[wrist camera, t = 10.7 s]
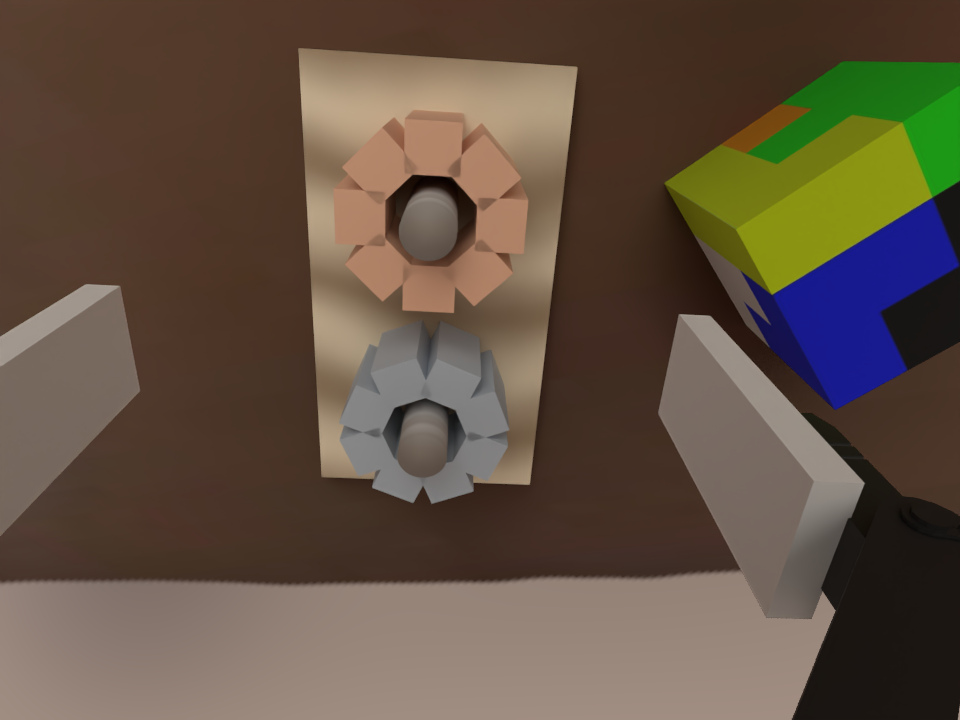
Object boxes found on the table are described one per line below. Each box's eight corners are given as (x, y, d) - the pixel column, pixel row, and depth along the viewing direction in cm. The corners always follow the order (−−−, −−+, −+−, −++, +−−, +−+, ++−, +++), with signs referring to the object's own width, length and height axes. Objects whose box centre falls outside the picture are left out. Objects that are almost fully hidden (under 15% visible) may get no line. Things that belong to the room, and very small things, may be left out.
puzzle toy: (745, 324, 37) (835, 410, 28) (663, 183, 34) (736, 229, 25) (911, 224, 35) (1066, 283, 26) (842, 61, 32) (994, 63, 22)
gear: (332, 349, 36) (313, 391, 32) (473, 302, 35) (474, 339, 31) (389, 466, 40) (380, 518, 35) (519, 426, 39) (526, 475, 34)
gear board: (304, 48, 31) (253, 46, 23) (573, 66, 31) (607, 69, 24) (325, 465, 41) (294, 556, 33) (528, 473, 41) (541, 564, 34)
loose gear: (350, 105, 31) (330, 114, 26) (525, 116, 31) (535, 127, 27) (354, 273, 34) (337, 306, 30) (510, 282, 35) (517, 316, 30)
